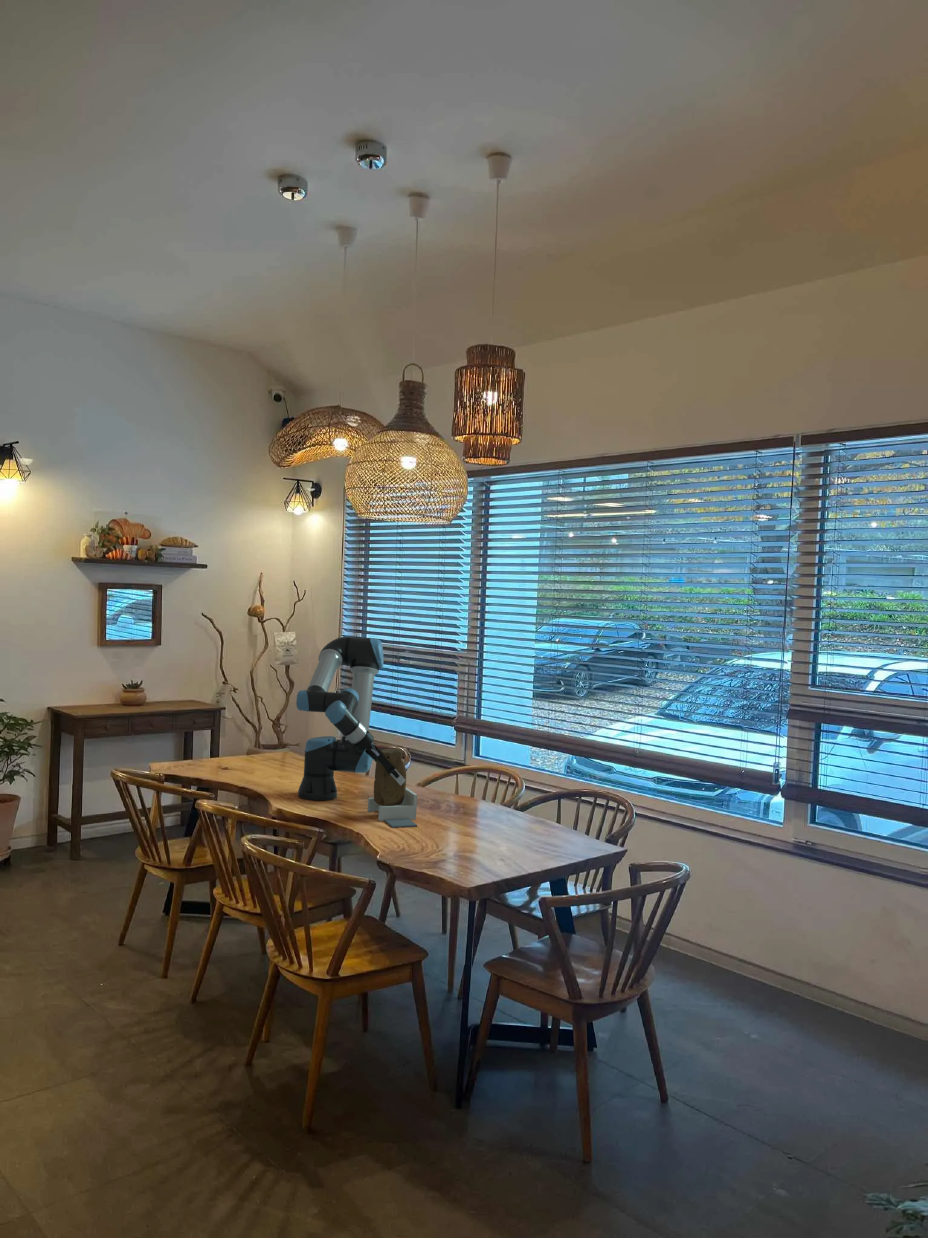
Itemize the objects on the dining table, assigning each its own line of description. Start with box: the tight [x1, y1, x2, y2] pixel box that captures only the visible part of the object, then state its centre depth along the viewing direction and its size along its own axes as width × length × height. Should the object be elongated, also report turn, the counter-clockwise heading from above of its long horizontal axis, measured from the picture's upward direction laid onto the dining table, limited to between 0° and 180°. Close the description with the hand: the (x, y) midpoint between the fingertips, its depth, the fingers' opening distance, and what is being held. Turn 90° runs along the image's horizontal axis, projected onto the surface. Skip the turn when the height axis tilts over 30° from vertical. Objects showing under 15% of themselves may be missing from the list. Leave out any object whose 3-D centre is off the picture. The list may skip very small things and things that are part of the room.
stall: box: [367, 787, 418, 822], centre depth 325 cm, size 14×14×9 cm
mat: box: [383, 818, 418, 829], centre depth 314 cm, size 9×9×1 cm
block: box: [373, 748, 407, 806], centre depth 324 cm, size 11×8×20 cm
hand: (399, 780), depth 325 cm, fingers closed on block, 8 cm apart
